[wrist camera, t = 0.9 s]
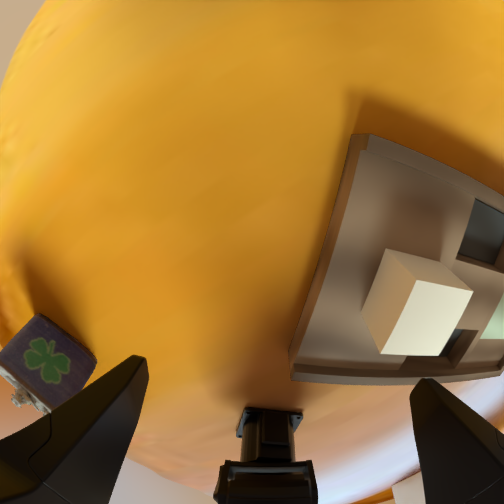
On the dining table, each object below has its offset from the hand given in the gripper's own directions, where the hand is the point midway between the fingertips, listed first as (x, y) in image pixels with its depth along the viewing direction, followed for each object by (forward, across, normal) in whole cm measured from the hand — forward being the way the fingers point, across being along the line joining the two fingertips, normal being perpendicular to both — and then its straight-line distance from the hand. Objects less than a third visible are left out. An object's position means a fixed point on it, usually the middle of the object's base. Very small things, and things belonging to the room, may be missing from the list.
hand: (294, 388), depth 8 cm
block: (+10, -9, +1) cm, 14 cm away
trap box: (+13, -17, +2) cm, 22 cm away
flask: (+13, +21, +14) cm, 28 cm away
